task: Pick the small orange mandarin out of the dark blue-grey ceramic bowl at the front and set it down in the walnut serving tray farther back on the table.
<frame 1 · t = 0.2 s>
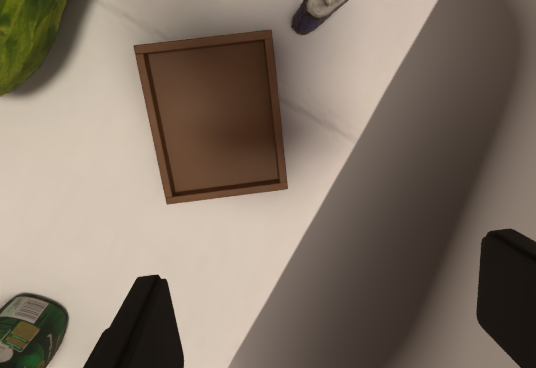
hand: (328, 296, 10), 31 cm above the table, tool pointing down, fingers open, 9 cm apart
coffee jar: (36, 324, 45), on the table
tray: (217, 119, 39), on the table
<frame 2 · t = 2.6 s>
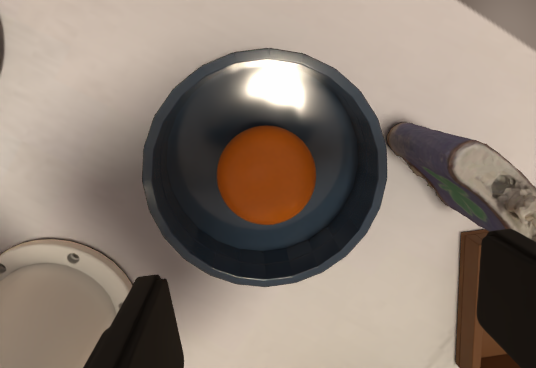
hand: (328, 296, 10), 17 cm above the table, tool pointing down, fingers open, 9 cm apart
mandarin: (266, 175, 23), point 4 cm above the table, touching bowl
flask: (429, 164, 28), on the table
bowl: (263, 161, 27), on the table
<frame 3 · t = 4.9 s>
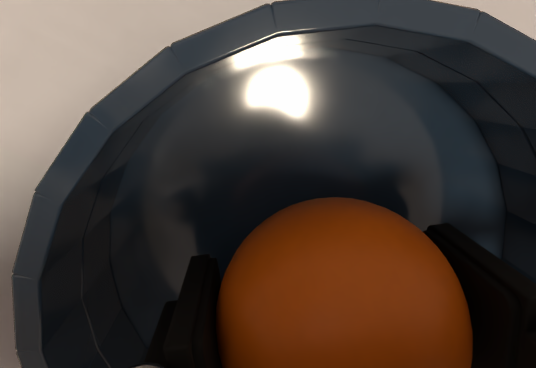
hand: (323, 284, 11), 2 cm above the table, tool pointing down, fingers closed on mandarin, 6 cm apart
mandarin: (335, 315, 9), point 4 cm above the table, touching bowl, gripper
bowl: (309, 248, 13), on the table
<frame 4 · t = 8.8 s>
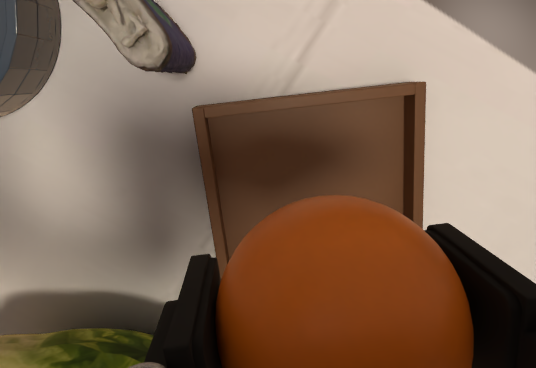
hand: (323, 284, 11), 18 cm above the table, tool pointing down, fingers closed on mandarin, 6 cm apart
lettuce: (143, 363, 33), on the table
mandarin: (335, 314, 9), point 19 cm above the table, touching gripper
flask: (143, 20, 25), on the table
tray: (310, 178, 29), on the table
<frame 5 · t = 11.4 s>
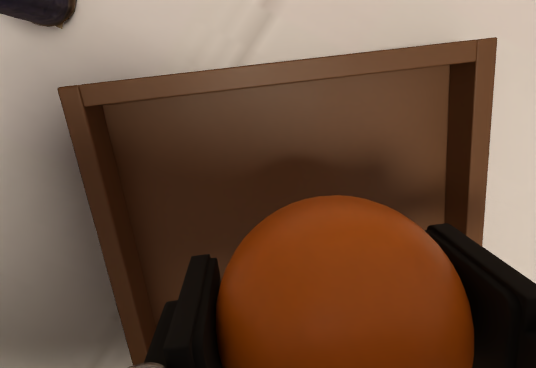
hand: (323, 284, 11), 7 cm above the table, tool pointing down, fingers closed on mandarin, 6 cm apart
mandarin: (335, 314, 9), point 8 cm above the table, touching gripper
tray: (290, 209, 17), on the table
when the fingers open (2 cm above the table, at t = 13.0 s): mandarin stays where it is, resting on tray.
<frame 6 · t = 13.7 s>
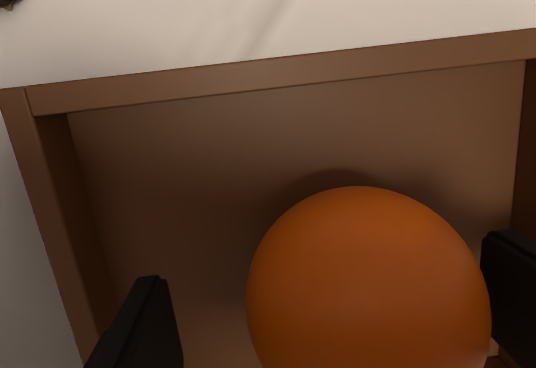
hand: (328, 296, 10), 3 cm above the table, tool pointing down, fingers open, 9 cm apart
mandarin: (357, 298, 10), point 4 cm above the table, tilted 11°, touching tray
tray: (310, 244, 14), on the table
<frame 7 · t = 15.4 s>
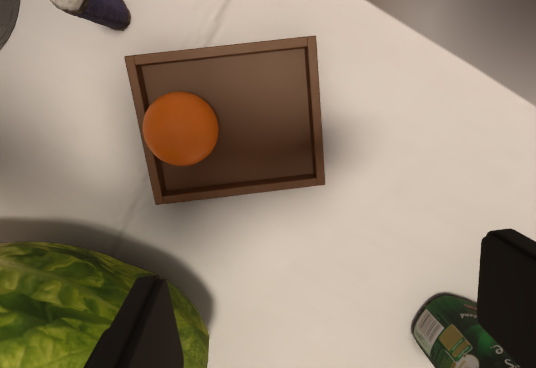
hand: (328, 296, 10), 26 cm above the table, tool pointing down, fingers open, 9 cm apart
lettuce: (98, 284, 39), on the table
mandarin: (181, 129, 30), point 4 cm above the table, tilted 78°, touching tray
coffee jar: (449, 321, 43), on the table
tray: (232, 122, 34), on the table
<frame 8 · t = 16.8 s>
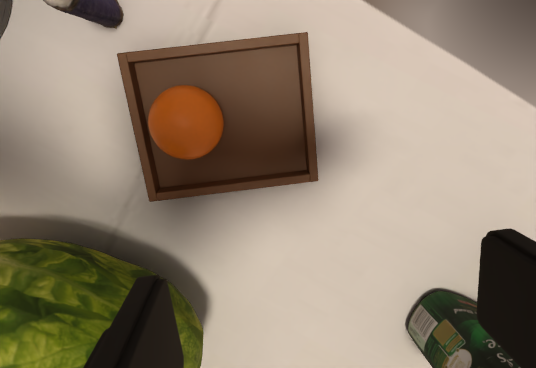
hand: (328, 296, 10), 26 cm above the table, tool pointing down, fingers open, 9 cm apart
lettuce: (93, 281, 39), on the table
mandarin: (186, 123, 31), point 4 cm above the table, tilted 58°, touching tray
coffee jar: (443, 317, 43), on the table
tray: (225, 118, 34), on the table
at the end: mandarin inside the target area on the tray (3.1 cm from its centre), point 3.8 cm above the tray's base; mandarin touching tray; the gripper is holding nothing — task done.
